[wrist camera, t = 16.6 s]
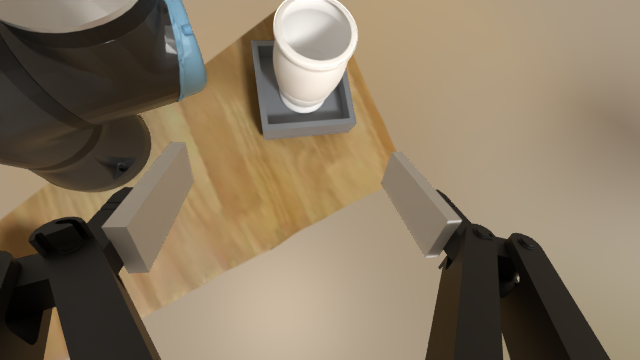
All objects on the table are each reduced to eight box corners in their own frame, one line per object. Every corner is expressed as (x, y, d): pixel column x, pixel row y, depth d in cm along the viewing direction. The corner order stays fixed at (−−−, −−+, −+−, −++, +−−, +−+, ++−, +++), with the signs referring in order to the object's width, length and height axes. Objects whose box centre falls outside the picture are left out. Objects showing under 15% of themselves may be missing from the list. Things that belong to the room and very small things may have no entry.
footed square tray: (264, 142, 43) (262, 130, 37) (253, 63, 45) (250, 40, 39) (346, 135, 46) (356, 123, 40) (332, 61, 48) (340, 40, 42)
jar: (318, 61, 44) (340, -15, 30) (338, 110, 43) (371, 56, 29) (265, 74, 42) (259, -2, 27) (285, 126, 41) (290, 76, 26)
